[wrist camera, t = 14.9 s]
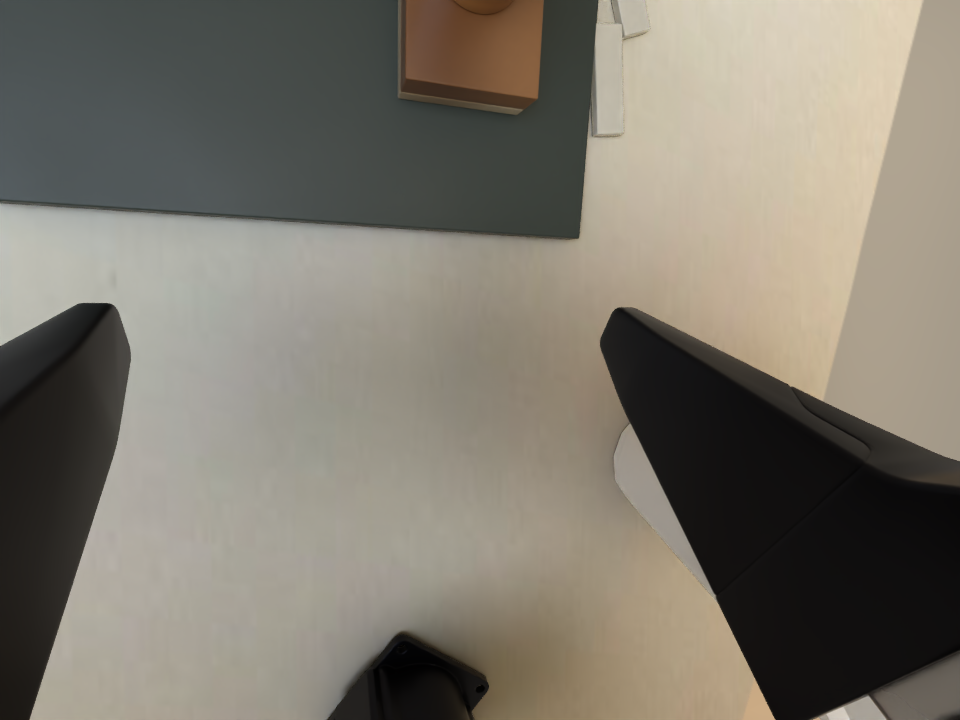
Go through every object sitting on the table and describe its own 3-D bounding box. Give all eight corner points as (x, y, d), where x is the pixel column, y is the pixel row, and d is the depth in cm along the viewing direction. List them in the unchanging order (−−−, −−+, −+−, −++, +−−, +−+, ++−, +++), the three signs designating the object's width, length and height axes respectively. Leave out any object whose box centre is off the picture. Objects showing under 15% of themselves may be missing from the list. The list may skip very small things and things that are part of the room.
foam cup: (712, 347, 26) (1036, 423, 14) (742, 483, 29) (1035, 643, 17) (566, 420, 25) (794, 578, 12) (612, 557, 27) (836, 797, 15)
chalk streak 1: (616, 28, 21) (622, 23, 21) (618, 136, 22) (624, 133, 22) (588, 27, 21) (594, 22, 20) (592, 137, 22) (597, 134, 22)
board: (595, -102, 20) (608, -120, 19) (569, 239, 23) (579, 238, 22) (-84, -307, 14) (-114, -349, 13) (-7, 202, 16) (-27, 199, 15)
